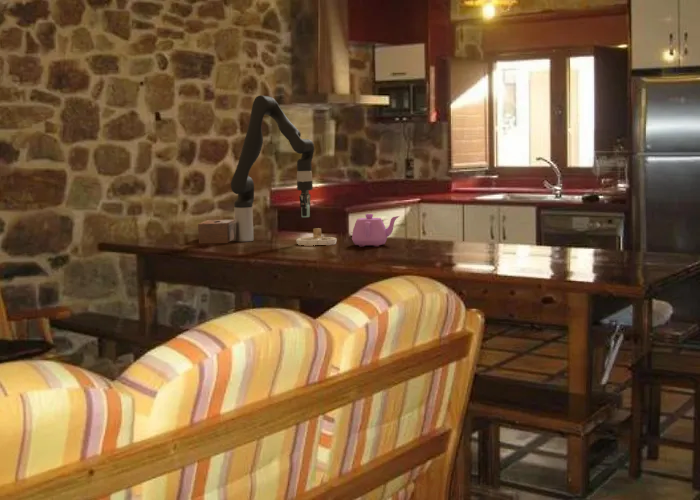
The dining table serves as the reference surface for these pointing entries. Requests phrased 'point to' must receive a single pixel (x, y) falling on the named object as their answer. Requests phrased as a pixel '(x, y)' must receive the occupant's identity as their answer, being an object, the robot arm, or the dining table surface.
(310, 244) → the tray
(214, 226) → the tissue box cover
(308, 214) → the bead teal
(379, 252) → the dining table surface
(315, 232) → the bead oak
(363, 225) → the teapot
